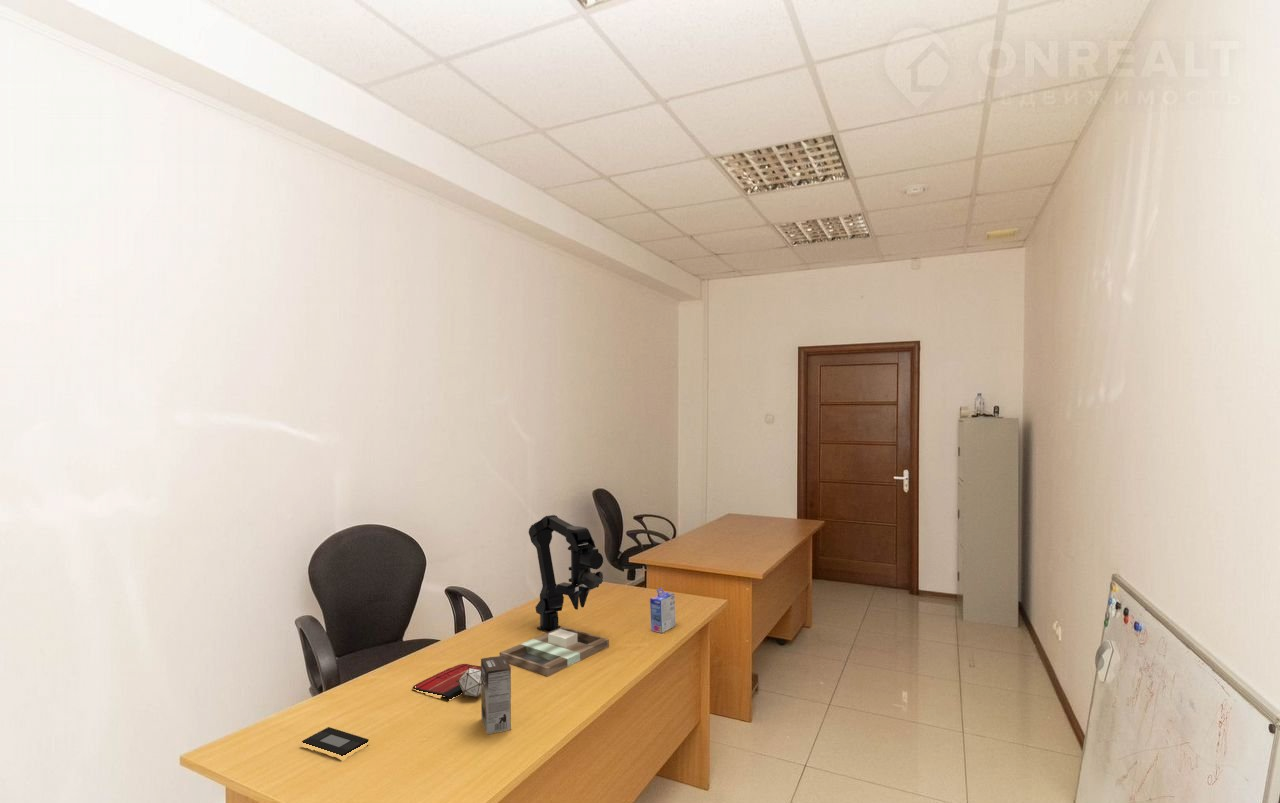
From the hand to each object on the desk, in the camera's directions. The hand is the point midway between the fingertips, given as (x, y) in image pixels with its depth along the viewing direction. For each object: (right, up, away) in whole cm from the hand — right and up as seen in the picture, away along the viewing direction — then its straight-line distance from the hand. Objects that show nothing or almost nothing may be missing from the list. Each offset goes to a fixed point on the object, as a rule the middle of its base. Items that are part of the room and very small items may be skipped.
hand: (579, 608), depth 221 cm
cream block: (-5, -9, -7) cm, 13 cm away
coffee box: (-16, -12, -58) cm, 61 cm away
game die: (-27, -12, -41) cm, 51 cm away
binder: (-34, -13, -32) cm, 49 cm away
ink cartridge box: (+30, -12, +14) cm, 35 cm away
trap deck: (-7, -12, -10) cm, 17 cm away
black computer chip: (-53, -12, -68) cm, 87 cm away
